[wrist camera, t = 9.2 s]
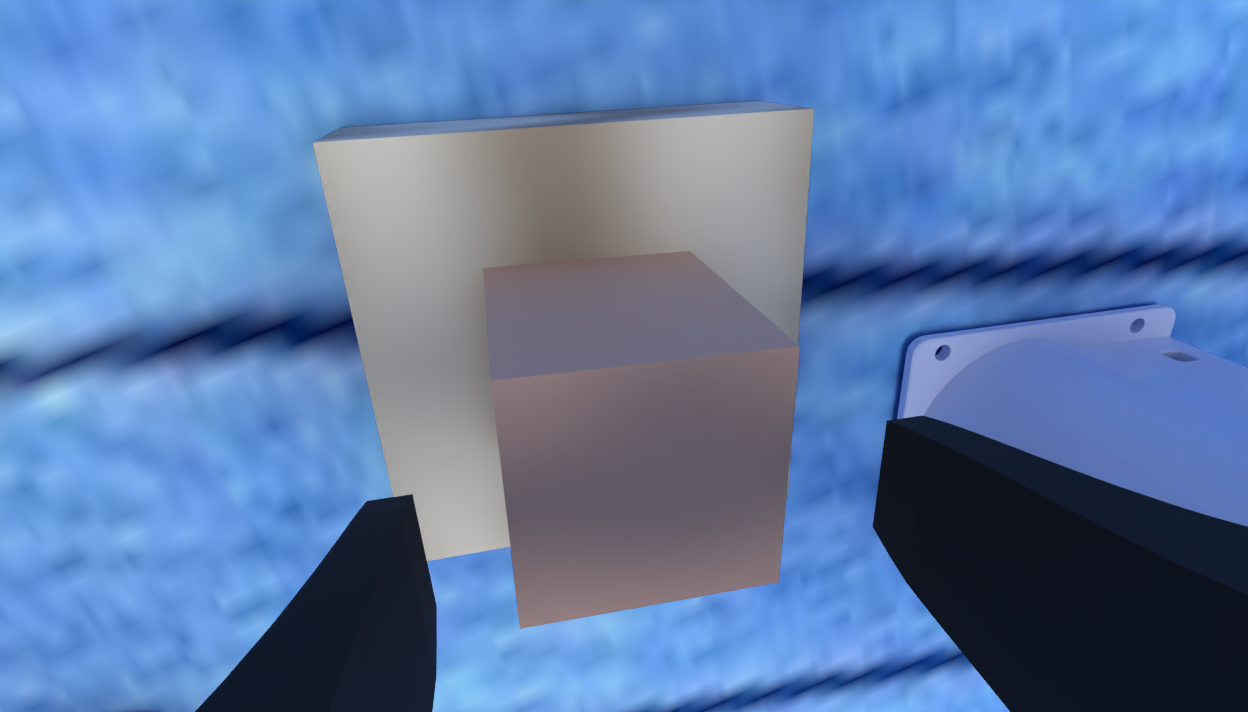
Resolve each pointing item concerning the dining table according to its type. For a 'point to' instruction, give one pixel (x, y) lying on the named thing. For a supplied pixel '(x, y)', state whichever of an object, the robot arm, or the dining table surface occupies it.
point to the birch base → (537, 256)
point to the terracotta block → (637, 432)
